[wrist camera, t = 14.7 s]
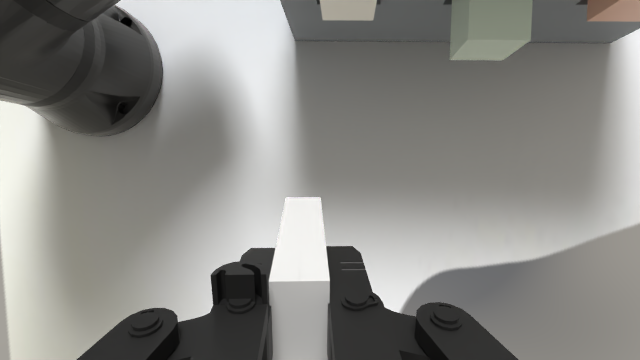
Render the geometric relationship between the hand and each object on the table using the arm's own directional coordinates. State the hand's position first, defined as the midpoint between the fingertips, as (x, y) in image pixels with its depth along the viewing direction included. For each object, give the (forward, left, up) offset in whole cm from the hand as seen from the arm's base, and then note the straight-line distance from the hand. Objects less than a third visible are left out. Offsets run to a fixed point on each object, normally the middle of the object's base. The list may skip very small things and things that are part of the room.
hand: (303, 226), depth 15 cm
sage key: (+12, +16, -15) cm, 25 cm away
